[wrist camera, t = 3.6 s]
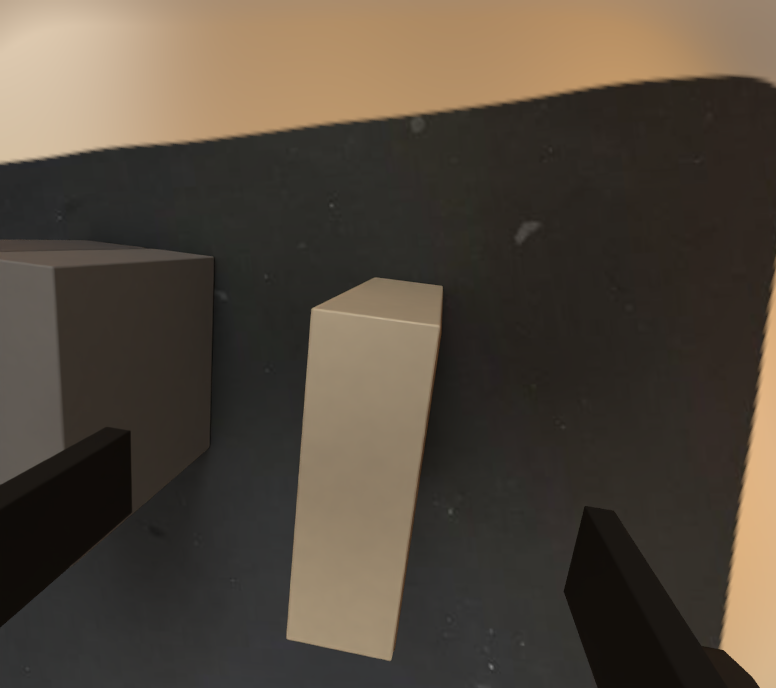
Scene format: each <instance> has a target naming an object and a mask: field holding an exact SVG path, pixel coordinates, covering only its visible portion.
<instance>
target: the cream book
mask: <svg viewBox="0 0 776 688" xmlns="http://www.w3.org/2000/svg"><path fill="white" fill-rule="evenodd" d="M442 309H443V286H439V285H431V284H423V283H415V282H408V281H400V280H392V279H384V278H376V277H375V278H373V279H371V280H369V281H366V282H364V283H362V284H360V285H358V286H356V287H354V288H352V289H350V290H348V291H346V292H344V293H342V294H340V295H338V296H336V297H334V298H332V299H330V300H328V301H326V302H324V303H322V304H320V305H318V306H316V307H314V308H312V310H311V321H310V334H309V347H308V360H307V373H306V386H305V399H304V412H303V426H302V439H301V452H300V465H299V478H298V491H297V504H296V517H295V530H294V543H293V557H292V570H291V583H290V596H289V609H288V622H287V635H286V637H287V639H288V640H293V641H298V642H303V643H307V644H312V645H317V646H322V647H326V648H331V649H336V650H341V651H345V652H350V653H355V654H360V655H364V656H369V657H374V658H379V659H383V660H388V661H391V659H392V655H393V651H394V650H395V644H396V638H397V631H398V624H399V617H400V611H401V604H402V597H403V590H404V583H405V577H406V570H407V563H408V556H409V549H410V543H411V536H412V529H413V522H414V516H415V509H416V502H417V495H418V488H419V482H420V475H421V468H422V461H423V455H424V448H425V441H426V434H427V427H428V421H429V414H430V407H431V400H432V393H433V387H434V380H435V373H436V366H437V360H438V353H439V346H440V339H441V330H442Z"/></svg>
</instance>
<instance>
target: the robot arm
mask: <svg viewBox="0 0 776 688" xmlns="http://www.w3.org/2000/svg"><path fill="white" fill-rule="evenodd" d="M131 513H132V475H131V431H130V430H124V429H118V428H112V427H105V428H103V429H101V430H100V431H98V432H96V433H94V434H92V435H90V436H89V437H87V438H85V439H83V440H81V441H79V442H78V443H76V444H74V445H72V446H70V447H68V448H67V449H65V450H63V451H61V452H59V453H58V454H56V455H54V456H52V457H50V458H48V459H47V460H45V461H43V462H41V463H39V464H37V465H36V466H34V467H32V468H30V469H28V470H26V471H25V472H23V473H21V474H19V475H17V476H16V477H14V478H12V479H10V480H8V481H6V482H5V483H3V484H1V485H0V627H1V626H2V625H4V624H5V623H6V622H7V621H8V620H9V619H10V618H12V617H13V616H14V615H15V614H16V613H17V612H18V611H20V610H21V609H22V608H23V607H24V606H25V605H27V604H28V603H29V602H30V601H31V600H32V599H33V598H35V597H36V596H37V595H38V594H39V593H40V592H41V591H43V590H44V589H45V588H46V587H47V586H48V585H49V584H51V583H52V582H53V581H54V580H55V579H56V578H58V577H59V576H60V575H61V574H62V573H63V572H64V571H66V570H67V569H68V568H69V567H70V566H71V565H72V564H74V563H75V562H76V561H77V560H78V559H79V558H81V557H82V556H83V555H84V554H85V553H86V552H87V551H89V550H90V549H91V548H92V547H93V546H94V545H95V544H97V543H98V542H99V541H100V540H101V539H102V538H103V537H105V536H106V535H107V534H108V533H109V532H110V531H112V530H113V529H114V528H115V527H116V526H117V525H118V524H120V523H121V522H122V521H123V520H124V519H125V518H126V517H128V516H129V515H130V514H131ZM564 593H565V596H566V599H567V602H568V605H569V608H570V610H571V613H572V616H573V619H574V622H575V625H576V628H577V630H578V633H579V636H580V639H581V642H582V645H583V647H584V650H585V653H586V656H587V659H588V662H589V664H590V667H591V670H592V673H593V676H594V679H595V682H596V684H597V687H598V688H760V687H759V686H758V685H757V683H756V682H755V680H754V679H753V678H752V676H751V675H749V674H748V673H747V672H746V671H745V670H744V669H743V668H742V667H741V666H740V665H739V664H738V663H737V662H736V661H734V660H733V659H732V658H731V657H730V656H729V655H728V654H727V653H726V652H725V651H724V650H720V649H714V648H709V647H704V646H701V645H700V644H699V642H698V640H697V639H696V637H695V636H694V634H693V633H692V631H691V630H690V628H689V626H688V625H687V623H686V622H685V620H684V619H683V617H682V616H681V614H680V613H679V611H678V609H677V608H676V606H675V605H674V603H673V602H672V600H671V599H670V597H669V595H668V594H667V592H666V591H665V589H664V588H663V586H662V585H661V583H660V581H659V580H658V578H657V577H656V575H655V574H654V572H653V571H652V569H651V568H650V566H649V564H648V563H647V561H646V560H645V558H644V557H643V555H642V554H641V552H640V550H639V549H638V547H637V546H636V544H635V543H634V541H633V540H632V538H631V537H630V535H629V533H628V532H627V530H626V529H625V527H624V526H623V524H622V523H621V521H620V519H619V518H618V516H617V515H616V513H615V512H614V511H612V510H606V509H600V508H594V507H588V506H585V507H584V511H583V516H582V520H581V524H580V528H579V532H578V536H577V540H576V544H575V548H574V552H573V556H572V560H571V564H570V568H569V572H568V576H567V580H566V585H565V589H564Z"/></svg>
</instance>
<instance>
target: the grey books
mask: <svg viewBox="0 0 776 688" xmlns="http://www.w3.org/2000/svg"><path fill="white" fill-rule="evenodd" d="M213 284H214V257H213V256H205V255H198V254H190V253H182V252H174V251H167V250H159V249H146V248H143V247H136V246H128V245H120V244H112V243H105V242H97V241H89V240H0V485H1V484H3V483H5V482H6V481H8V480H10V479H12V478H14V477H16V476H17V475H19V474H21V473H23V472H25V471H26V470H28V469H30V468H32V467H34V466H36V465H37V464H39V463H41V462H43V461H45V460H47V459H48V458H50V457H52V456H54V455H56V454H58V453H59V452H61V451H63V450H65V449H67V448H68V447H70V446H72V445H74V444H76V443H78V442H79V441H81V440H83V439H85V438H87V437H89V436H90V435H92V434H94V433H96V432H98V431H100V430H101V429H103V428H105V427H112V428H118V429H124V430H130V431H131V475H132V513H131V514H130V515H129V516H128V517H126V518H125V519H124V520H123V521H122V522H121V523H120V524H122V523H123V522H124V521H125V520H126V519H127V518H129V517H130V516H131V515H132V514H133V513H134V512H135V511H137V510H138V509H139V508H140V507H141V506H142V505H144V504H145V503H146V502H147V501H148V500H149V499H150V498H152V497H153V496H154V495H155V494H156V493H157V492H159V491H160V490H161V489H162V488H163V487H164V486H165V485H167V484H168V483H169V482H170V481H171V480H172V479H174V478H175V477H176V476H177V475H178V474H179V473H181V472H182V471H183V470H184V469H185V468H186V467H187V466H189V465H190V464H191V463H192V462H193V461H194V460H196V459H197V458H198V457H199V456H200V455H201V454H202V453H204V452H205V451H206V450H207V449H208V448H209V447H210V409H211V367H212V326H213ZM120 524H118V525H117V526H116V527H115V528H114V529H113V530H112V531H114V530H115V529H116V528H117V527H118V526H119V525H120ZM112 531H110V532H109V533H108V534H107V535H106V536H105V537H107V536H108V535H109V534H110V533H111V532H112ZM105 537H103V538H102V539H101V540H100V541H99V542H98V543H100V542H101V541H102V540H103V539H104V538H105ZM98 543H97V544H98ZM97 544H95V545H94V546H93V547H92V548H91V549H90V550H92V549H93V548H94V547H95V546H96V545H97ZM90 550H89V551H90ZM89 551H87V552H86V553H85V554H84V555H83V556H85V555H86V554H87V553H88V552H89ZM83 556H82V557H83ZM82 557H81V558H82ZM81 558H79V559H78V560H77V561H76V562H75V563H77V562H78V561H79V560H80V559H81ZM75 563H74V564H75ZM74 564H72V565H71V566H70V567H72V566H73V565H74Z"/></svg>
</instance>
